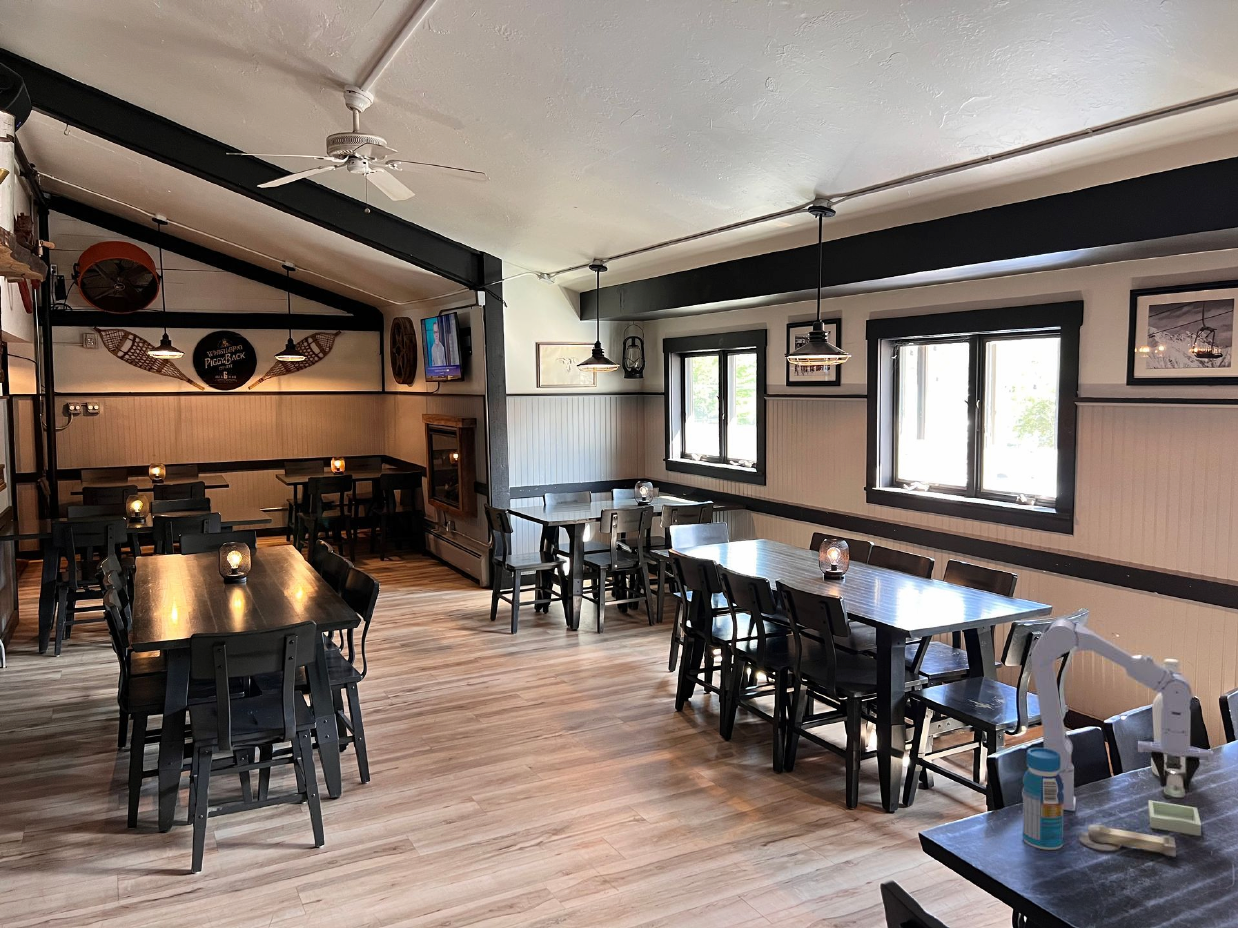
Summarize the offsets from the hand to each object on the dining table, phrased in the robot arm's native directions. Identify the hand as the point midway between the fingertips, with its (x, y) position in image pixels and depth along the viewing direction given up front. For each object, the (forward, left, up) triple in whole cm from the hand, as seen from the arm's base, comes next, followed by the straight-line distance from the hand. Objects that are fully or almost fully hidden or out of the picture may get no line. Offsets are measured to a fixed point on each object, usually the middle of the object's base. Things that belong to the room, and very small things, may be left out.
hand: (1174, 786), depth 205 cm
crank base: (-15, -18, -8) cm, 25 cm away
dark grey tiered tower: (+1, +17, -9) cm, 20 cm away
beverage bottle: (-26, -23, -9) cm, 35 cm away
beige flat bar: (-9, -18, -7) cm, 21 cm away
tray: (0, 0, -8) cm, 8 cm away
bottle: (+1, +30, -9) cm, 32 cm away
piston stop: (0, 0, -1) cm, 1 cm away
